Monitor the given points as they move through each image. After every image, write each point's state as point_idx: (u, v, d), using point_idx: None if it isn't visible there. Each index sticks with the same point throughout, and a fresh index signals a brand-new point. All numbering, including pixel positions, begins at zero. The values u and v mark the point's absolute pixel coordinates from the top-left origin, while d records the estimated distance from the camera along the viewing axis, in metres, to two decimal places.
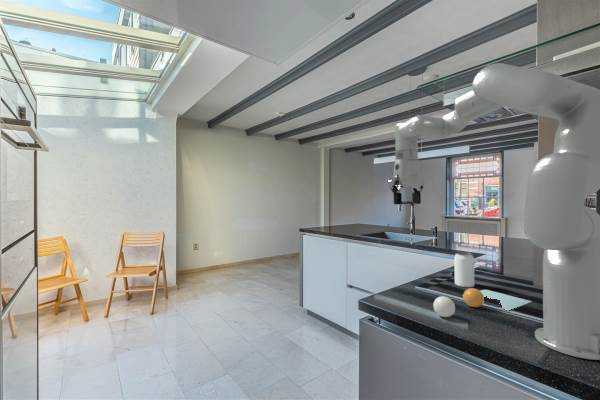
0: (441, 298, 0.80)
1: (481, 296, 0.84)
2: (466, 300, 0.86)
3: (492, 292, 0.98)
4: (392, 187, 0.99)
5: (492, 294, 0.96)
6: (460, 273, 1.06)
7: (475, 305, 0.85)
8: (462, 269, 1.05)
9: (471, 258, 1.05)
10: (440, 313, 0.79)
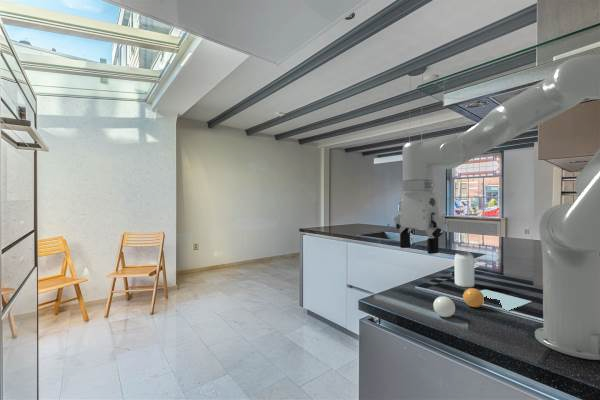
0: (441, 298, 0.80)
1: (481, 296, 0.84)
2: (466, 300, 0.86)
3: (492, 292, 0.98)
4: (443, 230, 0.71)
5: (492, 294, 0.96)
6: (460, 273, 1.06)
7: (475, 305, 0.85)
8: (462, 269, 1.05)
9: (471, 258, 1.05)
10: (440, 313, 0.79)
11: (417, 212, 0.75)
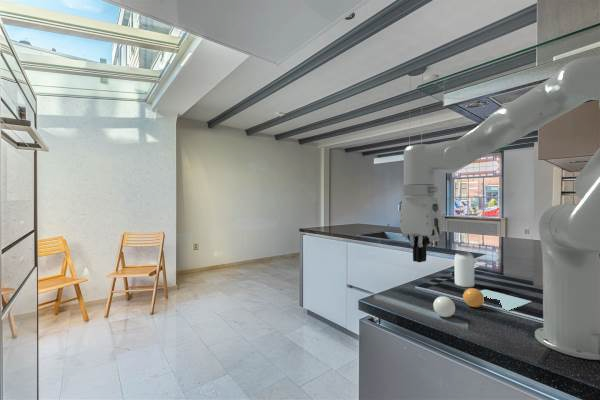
0: (441, 298, 0.80)
1: (481, 296, 0.84)
2: (466, 300, 0.86)
3: (492, 292, 0.98)
4: None
5: (492, 294, 0.96)
6: (460, 273, 1.06)
7: (475, 305, 0.85)
8: (462, 269, 1.05)
9: (471, 258, 1.05)
10: (440, 313, 0.79)
11: (420, 217, 0.72)
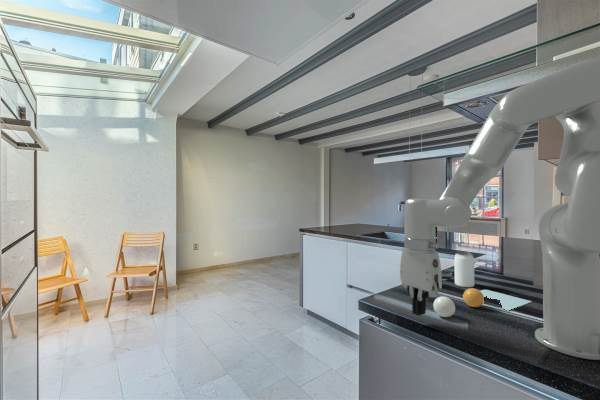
0: (441, 298, 0.80)
1: (481, 296, 0.84)
2: (466, 300, 0.86)
3: (492, 292, 0.98)
4: None
5: (492, 294, 0.96)
6: (460, 273, 1.06)
7: (475, 305, 0.85)
8: (462, 269, 1.05)
9: (471, 258, 1.05)
10: (440, 313, 0.79)
11: (420, 272, 0.73)
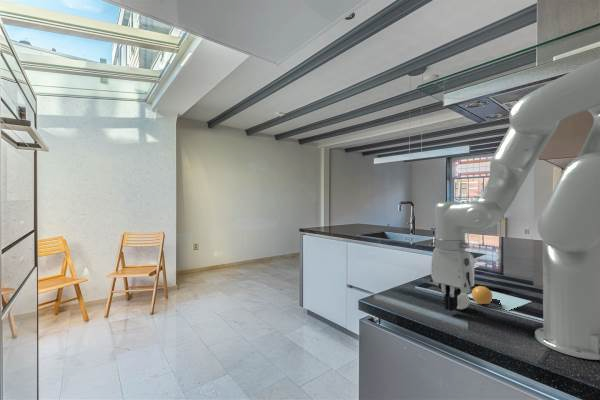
0: None
1: (492, 296, 0.87)
2: (478, 287, 0.89)
3: (492, 292, 0.98)
4: None
5: (492, 294, 0.96)
6: None
7: (483, 292, 0.87)
8: None
9: (471, 258, 1.05)
10: None
11: (452, 270, 0.78)
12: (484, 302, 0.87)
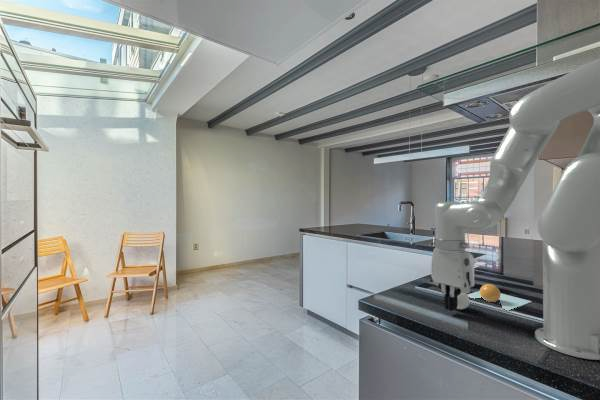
0: None
1: (498, 298, 0.89)
2: None
3: None
4: None
5: None
6: None
7: (497, 288, 0.90)
8: None
9: (471, 258, 1.05)
10: None
11: (452, 270, 0.78)
12: (492, 290, 0.88)
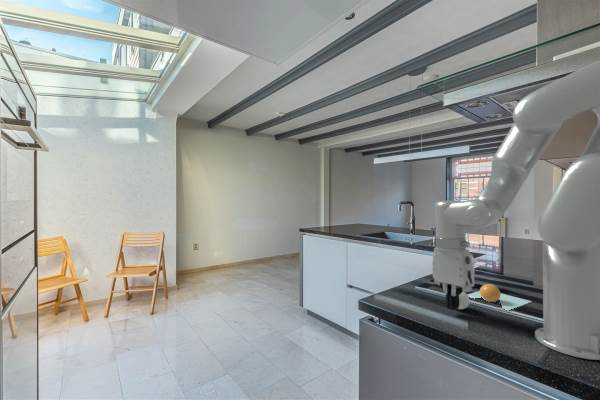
0: None
1: (498, 298, 0.89)
2: None
3: None
4: None
5: None
6: None
7: (497, 288, 0.90)
8: None
9: (471, 258, 1.05)
10: None
11: (453, 269, 0.78)
12: (492, 290, 0.88)
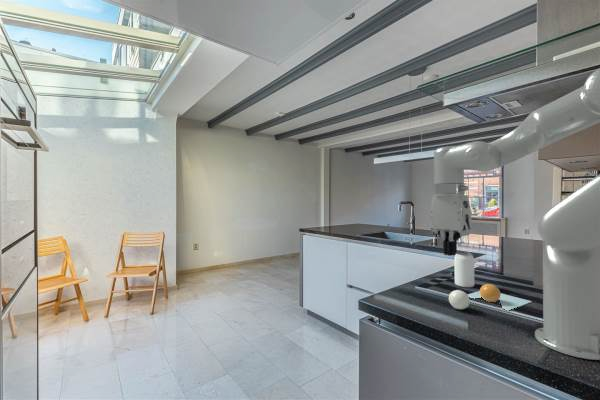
0: None
1: (498, 298, 0.89)
2: None
3: None
4: (460, 235, 0.79)
5: None
6: (460, 273, 1.06)
7: (497, 288, 0.90)
8: (462, 269, 1.05)
9: (471, 258, 1.05)
10: None
11: (451, 214, 0.78)
12: (492, 290, 0.88)
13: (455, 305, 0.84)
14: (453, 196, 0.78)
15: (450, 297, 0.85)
